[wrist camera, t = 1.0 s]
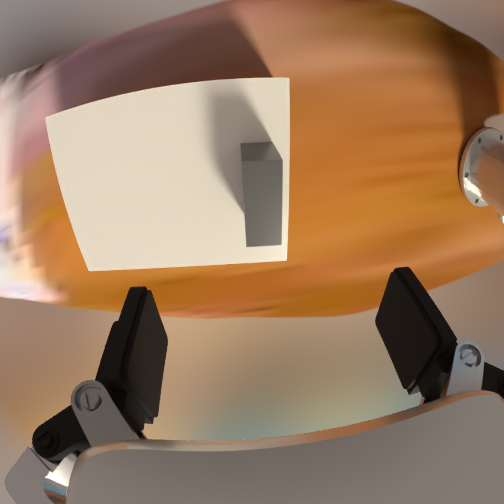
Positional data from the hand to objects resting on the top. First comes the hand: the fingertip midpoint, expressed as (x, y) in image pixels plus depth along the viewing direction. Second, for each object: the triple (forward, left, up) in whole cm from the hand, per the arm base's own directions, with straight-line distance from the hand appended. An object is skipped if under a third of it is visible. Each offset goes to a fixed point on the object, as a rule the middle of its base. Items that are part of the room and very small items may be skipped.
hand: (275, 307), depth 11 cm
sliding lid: (+5, +5, -15) cm, 16 cm away
